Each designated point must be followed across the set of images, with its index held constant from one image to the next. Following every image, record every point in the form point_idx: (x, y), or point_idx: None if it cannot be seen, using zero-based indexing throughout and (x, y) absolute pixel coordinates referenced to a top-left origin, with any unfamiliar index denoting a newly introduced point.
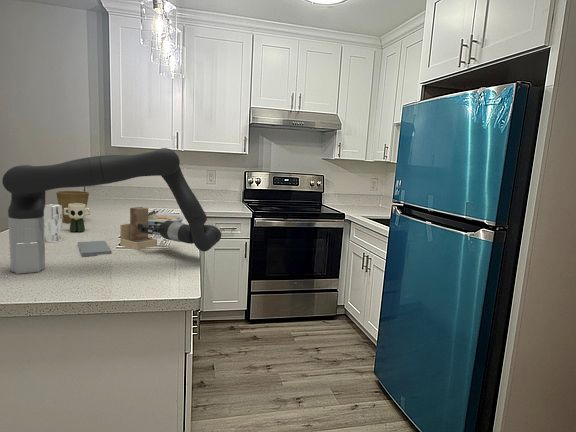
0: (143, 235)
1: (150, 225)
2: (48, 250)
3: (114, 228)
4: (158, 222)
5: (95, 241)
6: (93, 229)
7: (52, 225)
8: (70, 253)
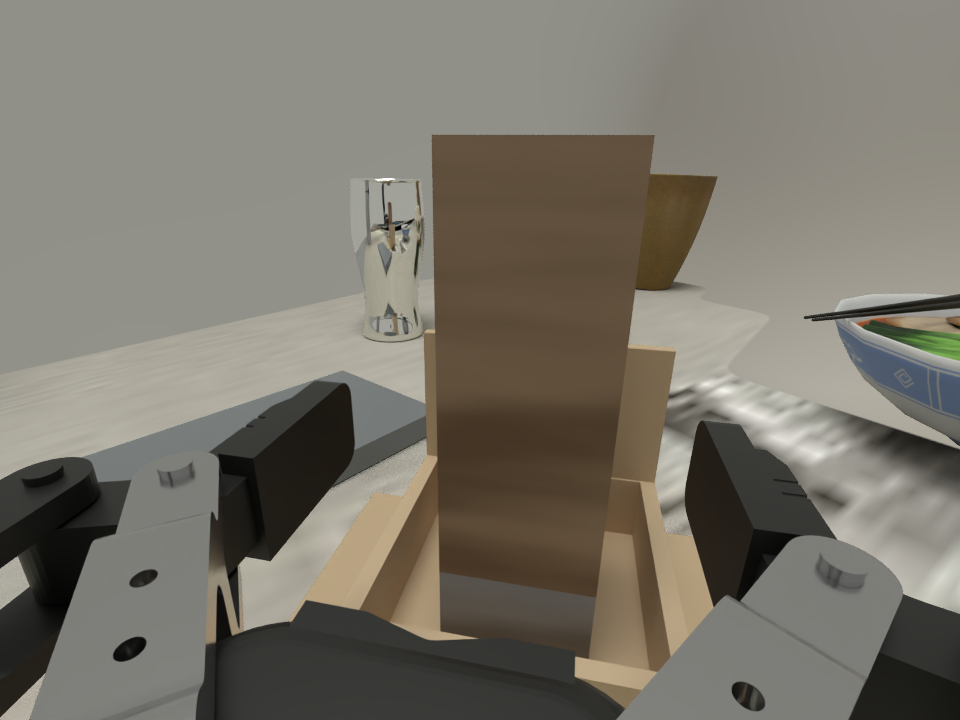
0: (523, 540)
1: (100, 573)
2: (221, 373)
3: (722, 341)
4: (729, 479)
5: (393, 396)
6: (631, 323)
7: (362, 267)
8: (162, 430)
